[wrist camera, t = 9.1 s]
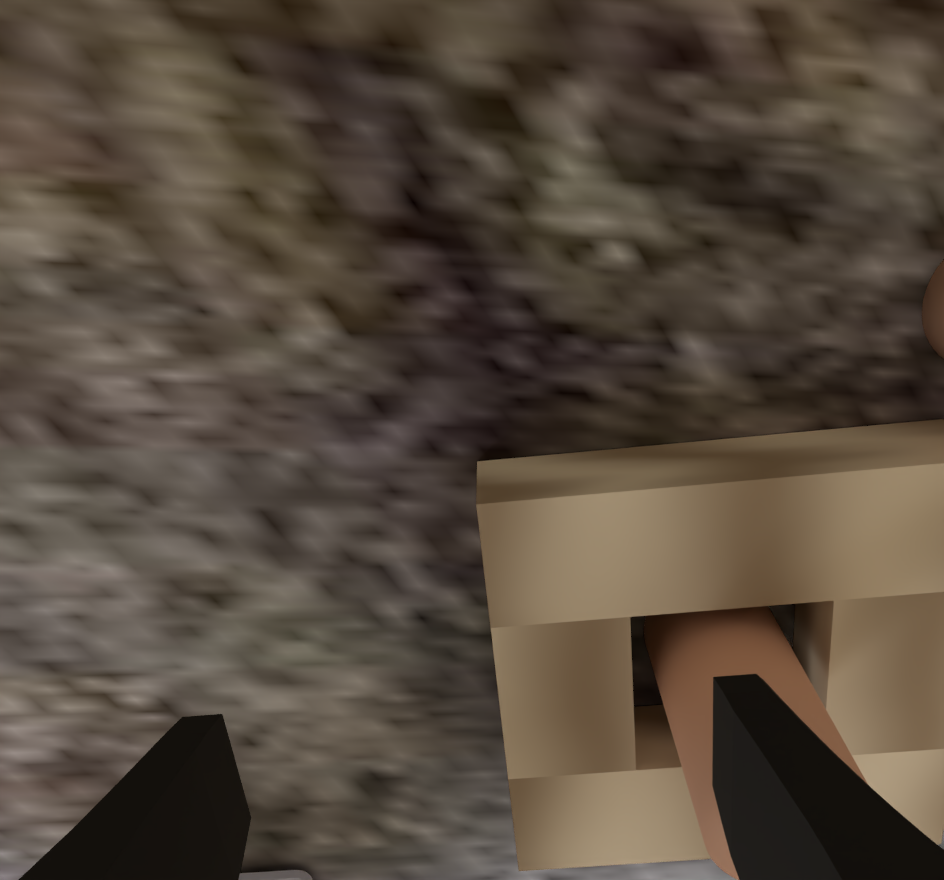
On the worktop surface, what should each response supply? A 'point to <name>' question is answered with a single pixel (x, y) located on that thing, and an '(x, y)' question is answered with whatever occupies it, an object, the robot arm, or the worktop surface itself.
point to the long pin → (691, 693)
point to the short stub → (935, 311)
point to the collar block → (703, 589)
